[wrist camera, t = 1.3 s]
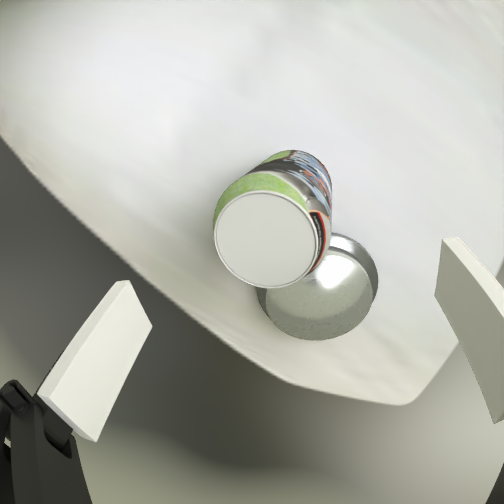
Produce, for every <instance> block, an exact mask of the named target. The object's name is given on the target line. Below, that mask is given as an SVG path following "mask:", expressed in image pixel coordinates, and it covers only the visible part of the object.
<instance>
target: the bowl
mask: <svg viewBox="0 0 504 504" xmlns="http://www.w3.org/2000/svg"><path fill="white" fill-rule="evenodd" d="M377 289H378V274H377V269H376V267H375V264H374V262H373V260H372V258H371V256H370V254H369V253H368V252H367V251H366V250H365V248H364V247H362V246H361V245H360V244H359V243H357V242H356V241H354V240H353V239H351V238H349V237H346V236H344V235H340V234H337V233H331V239H330V245H329V248H328V250H327V253H326V255H325V257H324V258H323V260H322V262H321V263H320V264H319V265H318V267H317V268H316V269H315V270H314V271H313V272H311V273H310V274H308V275H307V276H306V277H304V278H302V279H300V280H298V281H297V282H295V283H293V284H291V285H289V286H285V287H282V288H274V289H271V288H261V287H257V295H258V299H259V302H260V304H261V306H262V308H263V310H264V311H265V313H266V314H267V315H268V316H269V317H270V318H271V320H272V321H273V323H274V324H275V325H276V326H277V327H278V328H279V329H281V330H282V331H283V332H285V333H287V334H289V335H291V336H293V337H296V338H300V339H304V340H326V339H331V338H335V337H338V336H341V335H343V334H345V333H347V332H349V331H350V330H352V329H353V328H355V327H356V326H357V325H358V324H359V323H360V322H361V321H362V320H363V319H364V318H365V316H366V315H367V313H368V312H369V309H370V307H371V304H372V302H373V300H374V298H375V296H376V292H377Z"/></svg>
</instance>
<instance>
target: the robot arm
mask: <svg viewBox="0 0 504 504" xmlns="http://www.w3.org/2000/svg"><path fill="white" fill-rule="evenodd" d="M434 296H435V298H436V299H437V301H438V303H439V305H440V306H441V308H442V310H443V312H444V314H445V315H446V317H447V319H448V321H449V323H450V325H451V327H452V328H453V330H454V332H455V334H456V336H457V338H458V340H459V342H460V344H461V346H462V348H463V350H464V352H465V354H466V357H467V359H468V361H469V363H470V365H471V368H472V370H473V372H474V374H475V377H476V379H477V381H478V384H479V386H480V388H481V391H482V394H483V396H484V399H485V401H486V404H487V407H488V409H489V412H490V415H491V418H492V421H493V423H494V424H495V423H497V422H499V421H502V420H503V419H504V289H503V288H502V286H501V285H500V284H499V283H498V281H497V280H496V279H495V278H494V277H493V275H492V274H491V273H490V272H489V271H488V270H487V268H486V267H485V266H484V265H483V264H482V263H481V262H480V260H479V259H478V258H477V257H476V256H475V255H474V254H473V253H472V252H471V251H470V250H469V248H468V247H467V246H466V245H465V244H464V243H463V242H462V241H461V240H460V239H459V238H458V237H453V238H446V239H442V244H441V254H440V262H439V270H438V277H437V283H436V289H435V295H434ZM151 328H152V325H151V323H150V321H149V319H148V317H147V315H146V313H145V311H144V309H143V308H142V306H141V304H140V302H139V299H138V298H137V296H136V293H135V291H134V289H133V287H132V285H131V283H130V281H129V280H125V281H117V282H116V283H115V284H114V285H113V286H112V288H111V289H110V290H109V291H108V293H107V294H106V295H105V296H104V298H103V299H102V300H101V302H100V303H99V304H98V306H97V307H96V308H95V310H94V311H93V312H92V314H91V315H90V316H89V318H88V319H87V320H86V321H85V323H84V324H83V326H82V327H81V328H80V330H79V331H78V332H77V334H76V335H75V337H74V338H73V340H72V341H71V342H70V344H69V345H68V347H67V348H66V349H65V350H64V351H63V352H62V353H61V354H60V356H59V357H58V359H57V360H56V361H57V362H55V363H54V365H53V366H52V370H50V371H49V372H48V374H47V375H46V377H45V378H44V380H43V382H42V383H41V385H40V386H39V388H38V389H37V391H36V393H35V394H34V396H33V397H31V395H30V394H29V393H28V392H27V391H26V390H25V389H24V387H23V386H22V385H21V384H20V383H19V382H18V381H17V380H11V381H8V382H7V383H6V384H5V385H4V386H3V387H2V388H1V389H0V504H92V501H91V498H90V495H89V492H88V489H87V485H86V481H85V478H84V474H83V470H82V467H81V463H80V458H79V454H78V449H77V445H76V440H75V438H74V436H73V435H71V433H72V431H73V430H74V431H75V432H77V433H78V434H79V435H80V436H81V437H82V438H86V439H88V440H91V441H94V442H96V441H97V440H98V437H99V435H100V433H101V430H102V428H103V426H104V424H105V422H106V419H107V417H108V415H109V413H110V411H111V409H112V407H113V404H114V402H115V400H116V398H117V396H118V394H119V392H120V390H121V388H122V386H123V384H124V381H125V379H126V377H127V375H128V373H129V371H130V369H131V367H132V365H133V363H134V361H135V359H136V357H137V355H138V353H139V351H140V350H141V347H142V346H143V343H144V342H145V340H146V338H147V336H148V334H149V332H150V330H151ZM5 437H6V438H7V439H8V440H9V441H11V448H10V447H9V446H7V445H6V444H5V443H4V441H5ZM486 504H504V464H503V466H502V469H501V472H500V474H499V476H498V478H497V481H496V483H495V485H494V487H493V489H492V491H491V494H490V496H489V498H488V500H487V502H486Z"/></svg>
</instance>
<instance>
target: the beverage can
mask: <svg viewBox="0 0 504 504" xmlns="http://www.w3.org/2000/svg"><path fill="white" fill-rule="evenodd" d="M331 221H332V184H331V179H330V176H329V174H328V171H327V170H326V168H325V167H324V165H323V164H322V163H321V162H320V161H319V160H318V159H317V158H315V157H314V156H312V155H310V154H308V153H306V152H303V151H298V150H286V151H282V152H279V153H277V154H274V155H273V156H271V157H270V158H268V159H267V160H265V161H264V162H263V163H261V164H260V165H258V166H257V167H255V168H254V169H253V170H251V171H250V172H248V173H247V174H245V175H244V176H243V177H241V178H240V179H238V180H237V181H236V182H234V183H233V184H231V185H230V186H229V188H228V189H227V190H226V191H225V192H224V193H223V195H222V196H221V198H220V200H219V201H218V204H217V207H216V209H215V214H214V219H213V230H214V242H215V247H216V250H217V253H218V255H219V257H220V259H221V261H222V263H223V264H224V265H225V267H226V268H227V269H228V270H229V271H230V272H231V273H232V274H233V275H234V276H236V277H237V278H239V279H240V280H242V281H244V282H246V283H247V284H250V285H253V286H256V287H261V288H271V289H274V288H282V287H285V286H289V285H291V284H293V283H295V282H297V281H298V280H300V279H302V278H304V277H306V276H307V275H308V274H310V273H311V272H313V271H314V270H315V269H316V268H317V267H318V265H319V264H320V263H321V262H322V260H323V258H324V257H325V255H326V253H327V250H328V248H329V245H330V239H331Z"/></svg>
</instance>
